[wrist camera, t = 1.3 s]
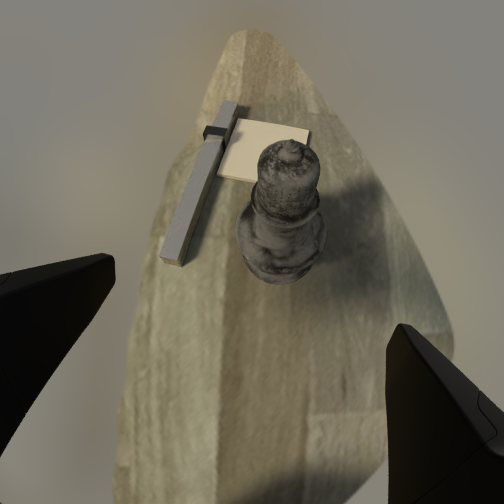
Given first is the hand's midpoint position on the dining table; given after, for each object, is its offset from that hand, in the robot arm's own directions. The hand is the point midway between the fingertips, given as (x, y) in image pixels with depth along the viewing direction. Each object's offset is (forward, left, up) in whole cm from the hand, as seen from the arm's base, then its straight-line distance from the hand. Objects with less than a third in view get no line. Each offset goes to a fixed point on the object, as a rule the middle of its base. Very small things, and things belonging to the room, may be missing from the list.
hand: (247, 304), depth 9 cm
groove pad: (+15, +3, -13) cm, 20 cm away
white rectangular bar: (+12, +7, -13) cm, 19 cm away
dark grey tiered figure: (+7, 0, -13) cm, 15 cm away
